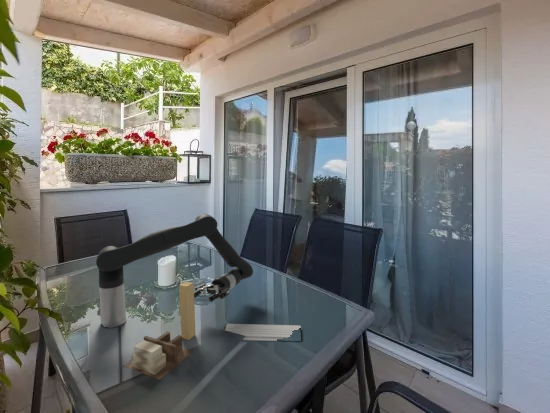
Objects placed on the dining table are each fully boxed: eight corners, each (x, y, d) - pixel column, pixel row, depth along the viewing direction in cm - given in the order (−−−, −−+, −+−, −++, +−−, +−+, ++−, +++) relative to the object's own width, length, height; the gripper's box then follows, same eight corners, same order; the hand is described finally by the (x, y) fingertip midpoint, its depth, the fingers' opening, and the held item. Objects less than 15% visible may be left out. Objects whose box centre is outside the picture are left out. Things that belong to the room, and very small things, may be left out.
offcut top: (134, 354, 100) (134, 346, 100) (144, 348, 104) (144, 340, 104) (152, 361, 97) (152, 352, 97) (162, 354, 101) (161, 345, 100)
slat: (181, 339, 118) (179, 284, 115) (188, 334, 121) (186, 281, 118) (188, 341, 116) (186, 286, 113) (195, 336, 120) (193, 282, 117)
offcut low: (132, 366, 101) (131, 355, 100) (144, 357, 105) (143, 346, 105) (154, 374, 97) (154, 363, 96) (166, 365, 101) (165, 354, 101)
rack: (123, 369, 101) (121, 348, 100) (159, 344, 116) (158, 325, 115) (159, 383, 95) (158, 361, 94) (193, 355, 109) (192, 335, 108)
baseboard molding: (301, 345, 116) (300, 328, 128) (302, 338, 116) (300, 322, 128) (221, 343, 118) (227, 327, 129) (221, 336, 117) (227, 320, 129)
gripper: (210, 273, 142) (187, 286, 127) (237, 278, 136) (215, 291, 121) (211, 288, 143) (188, 303, 128) (237, 294, 137) (216, 309, 122)
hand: (201, 297), depth 124 cm, fingers open, 8 cm apart
